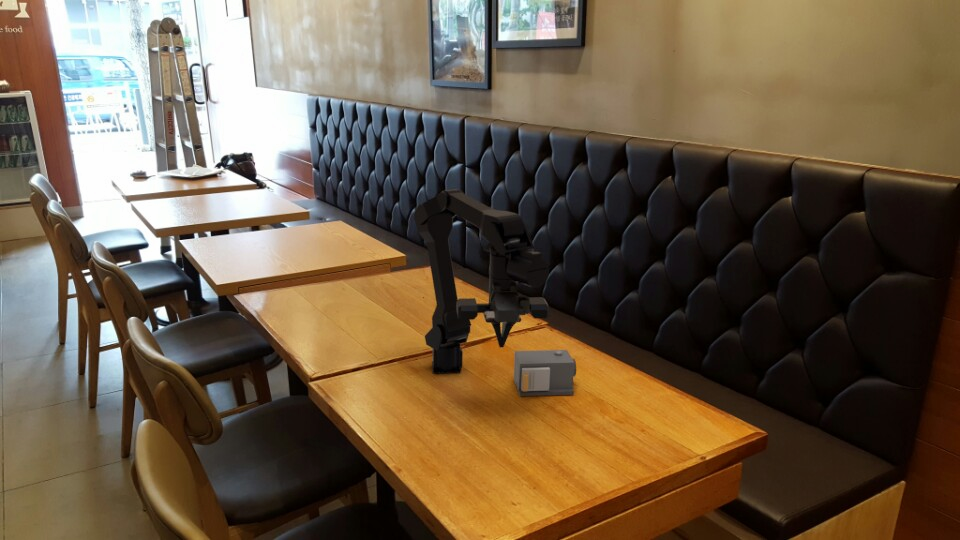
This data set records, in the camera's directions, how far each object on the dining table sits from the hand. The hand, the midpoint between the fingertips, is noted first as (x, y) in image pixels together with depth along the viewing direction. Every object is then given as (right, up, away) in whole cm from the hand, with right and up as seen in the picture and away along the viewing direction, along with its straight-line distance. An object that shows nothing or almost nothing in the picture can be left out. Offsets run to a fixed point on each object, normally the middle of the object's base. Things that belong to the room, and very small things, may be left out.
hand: (501, 346), depth 142 cm
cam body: (+10, -10, +10) cm, 17 cm away
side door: (+8, -10, +5) cm, 13 cm away
